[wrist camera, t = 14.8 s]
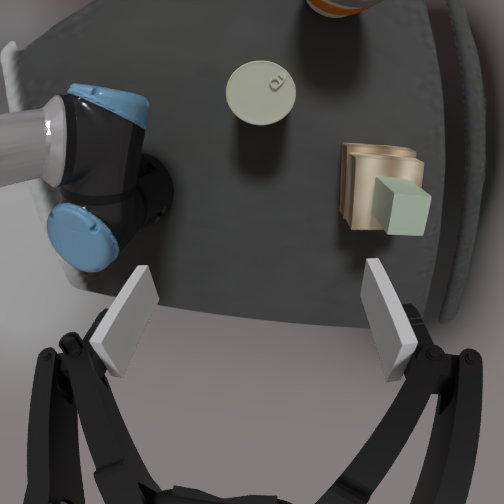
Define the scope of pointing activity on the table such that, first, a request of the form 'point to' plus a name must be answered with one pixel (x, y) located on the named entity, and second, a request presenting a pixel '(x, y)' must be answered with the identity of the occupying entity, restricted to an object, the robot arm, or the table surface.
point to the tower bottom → (363, 149)
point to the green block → (400, 206)
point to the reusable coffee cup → (340, 7)
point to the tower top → (363, 183)
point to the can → (260, 93)
